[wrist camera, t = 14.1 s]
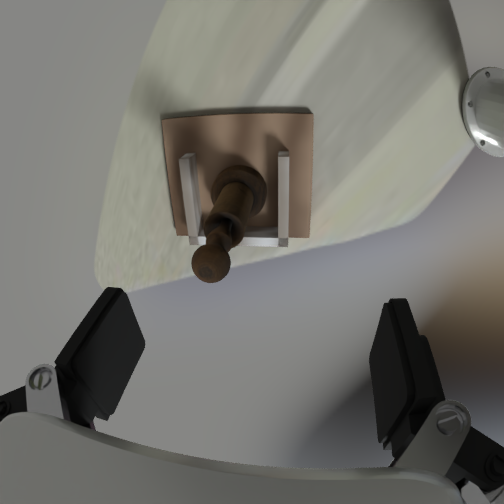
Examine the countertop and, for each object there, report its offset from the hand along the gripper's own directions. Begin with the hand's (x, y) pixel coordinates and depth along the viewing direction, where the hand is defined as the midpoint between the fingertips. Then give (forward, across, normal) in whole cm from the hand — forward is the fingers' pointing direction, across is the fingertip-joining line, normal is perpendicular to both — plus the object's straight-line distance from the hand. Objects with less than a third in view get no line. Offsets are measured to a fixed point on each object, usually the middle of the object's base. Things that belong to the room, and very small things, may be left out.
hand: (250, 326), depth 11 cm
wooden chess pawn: (+29, +6, +5) cm, 30 cm away
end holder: (+29, +6, +4) cm, 30 cm away
